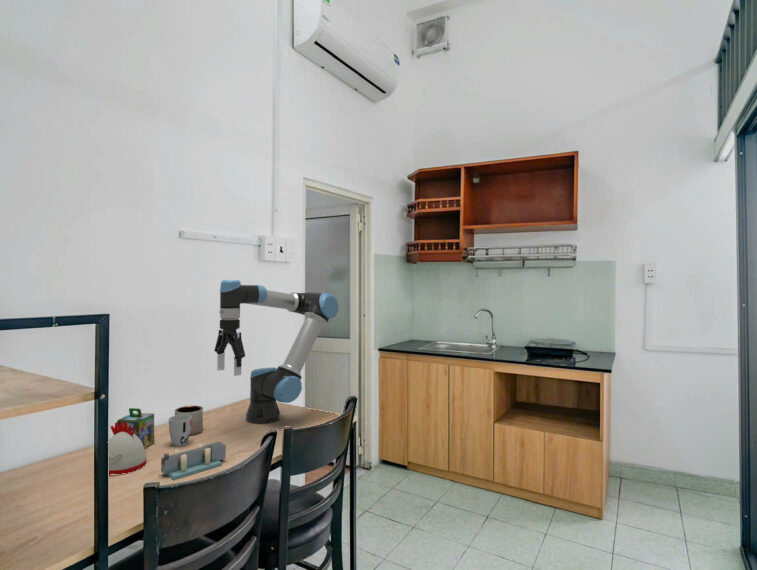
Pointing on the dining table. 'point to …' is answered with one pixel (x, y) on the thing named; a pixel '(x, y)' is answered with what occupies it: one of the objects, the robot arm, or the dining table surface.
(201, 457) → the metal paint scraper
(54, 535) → the dining table surface
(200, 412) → the planter
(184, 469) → the peg rack
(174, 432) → the cup
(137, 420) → the chalk box
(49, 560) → the dining table surface
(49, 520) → the dining table surface
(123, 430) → the kitchen timer
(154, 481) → the dining table surface
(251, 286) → the robot arm
